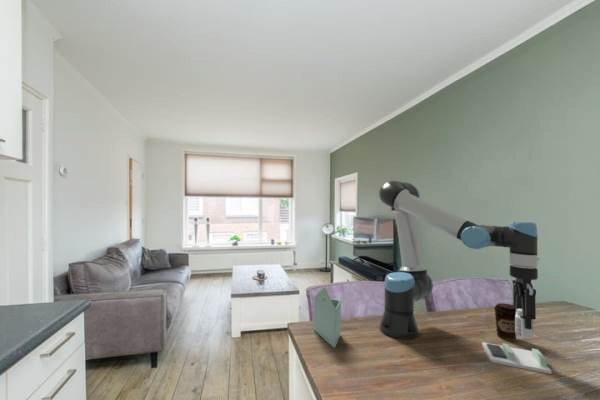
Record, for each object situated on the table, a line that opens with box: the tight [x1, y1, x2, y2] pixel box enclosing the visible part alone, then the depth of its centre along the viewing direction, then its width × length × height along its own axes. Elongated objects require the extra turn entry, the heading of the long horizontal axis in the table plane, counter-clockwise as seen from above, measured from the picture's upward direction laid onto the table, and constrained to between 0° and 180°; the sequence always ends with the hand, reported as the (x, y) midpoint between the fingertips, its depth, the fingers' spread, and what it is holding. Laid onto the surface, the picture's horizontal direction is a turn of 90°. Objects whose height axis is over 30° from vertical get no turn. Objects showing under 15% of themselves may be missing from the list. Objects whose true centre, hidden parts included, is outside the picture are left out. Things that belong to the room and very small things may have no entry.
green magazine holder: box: [313, 286, 342, 349], centre depth 108 cm, size 16×8×20 cm, turn 24°
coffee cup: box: [493, 302, 517, 342], centre depth 111 cm, size 9×8×13 cm
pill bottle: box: [515, 309, 534, 338], centre depth 94 cm, size 5×5×8 cm
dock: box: [481, 341, 552, 375], centre depth 95 cm, size 16×13×4 cm
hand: (523, 334), depth 93 cm, fingers closed on pill bottle, 5 cm apart
